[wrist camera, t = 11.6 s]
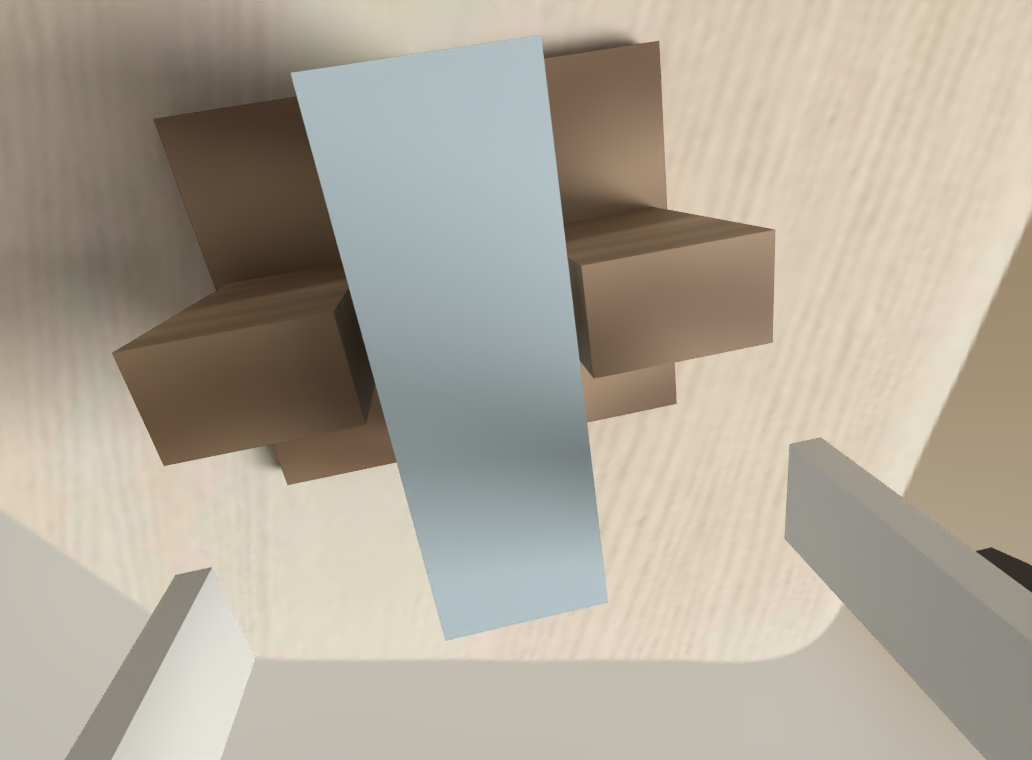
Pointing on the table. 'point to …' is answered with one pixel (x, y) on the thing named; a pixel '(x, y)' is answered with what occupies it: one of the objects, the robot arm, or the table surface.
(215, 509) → the table surface
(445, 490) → the grey-blue slab
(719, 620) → the table surface
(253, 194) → the walnut stand
